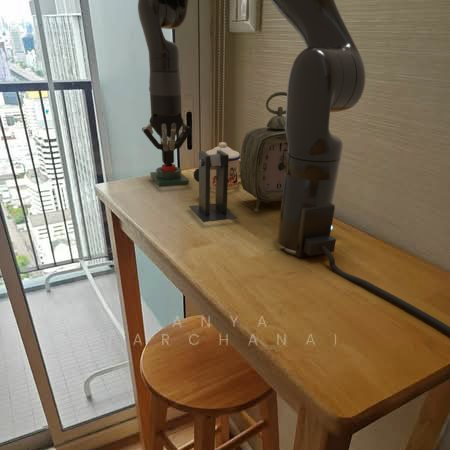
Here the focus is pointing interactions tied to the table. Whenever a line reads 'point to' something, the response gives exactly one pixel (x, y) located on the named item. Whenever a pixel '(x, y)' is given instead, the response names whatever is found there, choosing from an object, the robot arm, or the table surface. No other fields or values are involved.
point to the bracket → (220, 207)
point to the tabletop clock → (265, 158)
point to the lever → (214, 165)
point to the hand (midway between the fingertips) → (168, 165)
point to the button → (168, 168)
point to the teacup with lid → (232, 166)
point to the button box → (169, 178)
